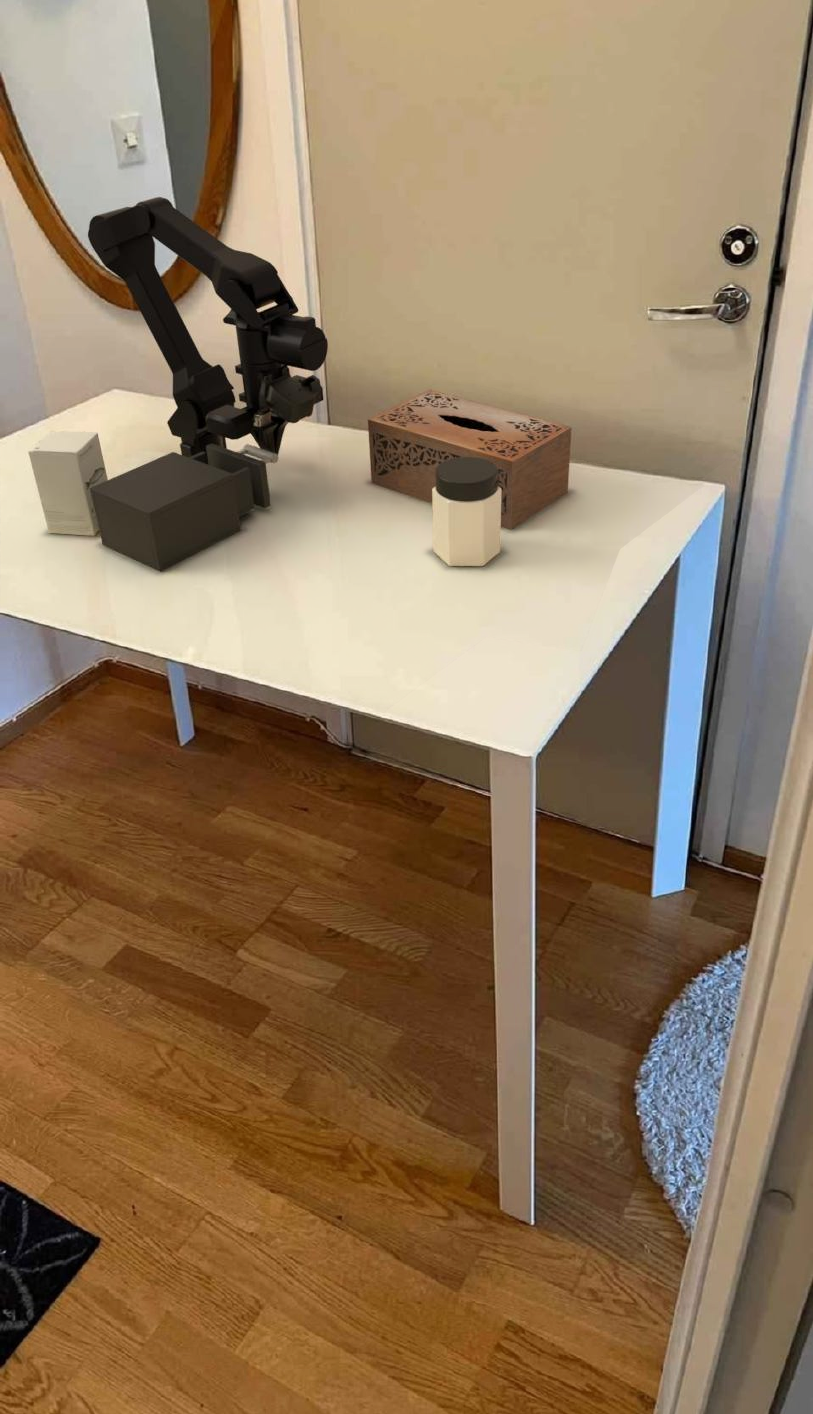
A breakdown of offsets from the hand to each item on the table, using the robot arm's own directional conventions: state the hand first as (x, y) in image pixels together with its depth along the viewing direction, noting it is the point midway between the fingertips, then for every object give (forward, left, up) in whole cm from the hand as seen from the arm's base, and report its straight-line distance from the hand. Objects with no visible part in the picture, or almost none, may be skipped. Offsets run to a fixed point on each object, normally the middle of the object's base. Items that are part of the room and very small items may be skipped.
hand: (272, 461), depth 160 cm
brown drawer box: (+20, 0, -4) cm, 21 cm away
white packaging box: (+25, -14, -4) cm, 29 cm away
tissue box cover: (-17, +24, -4) cm, 30 cm away
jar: (-1, +36, -4) cm, 36 cm away
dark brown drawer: (+11, 0, -3) cm, 11 cm away
